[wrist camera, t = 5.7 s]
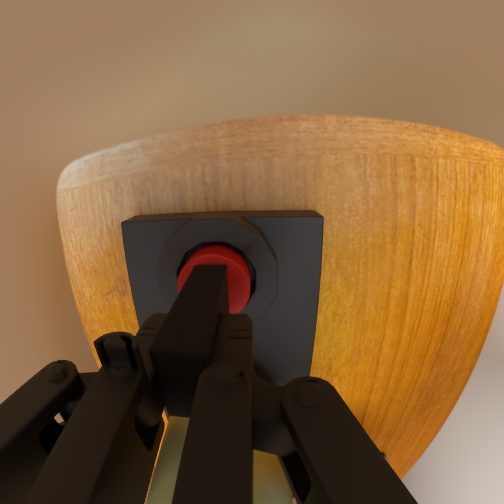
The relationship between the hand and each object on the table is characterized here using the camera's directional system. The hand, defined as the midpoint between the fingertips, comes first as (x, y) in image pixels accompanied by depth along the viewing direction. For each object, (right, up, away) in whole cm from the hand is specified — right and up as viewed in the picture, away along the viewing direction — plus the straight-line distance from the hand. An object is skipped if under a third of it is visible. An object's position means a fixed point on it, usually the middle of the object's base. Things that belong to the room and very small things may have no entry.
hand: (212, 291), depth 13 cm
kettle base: (0, -4, +7) cm, 8 cm away
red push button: (0, +1, +2) cm, 2 cm away
